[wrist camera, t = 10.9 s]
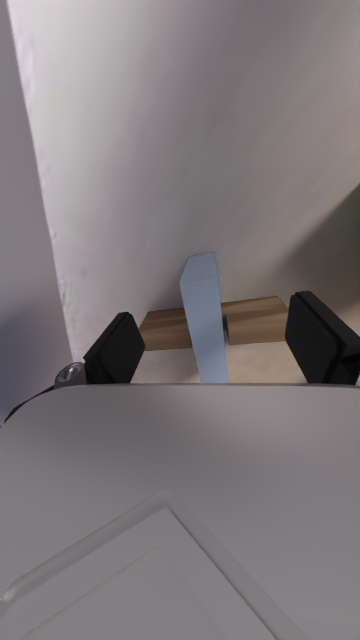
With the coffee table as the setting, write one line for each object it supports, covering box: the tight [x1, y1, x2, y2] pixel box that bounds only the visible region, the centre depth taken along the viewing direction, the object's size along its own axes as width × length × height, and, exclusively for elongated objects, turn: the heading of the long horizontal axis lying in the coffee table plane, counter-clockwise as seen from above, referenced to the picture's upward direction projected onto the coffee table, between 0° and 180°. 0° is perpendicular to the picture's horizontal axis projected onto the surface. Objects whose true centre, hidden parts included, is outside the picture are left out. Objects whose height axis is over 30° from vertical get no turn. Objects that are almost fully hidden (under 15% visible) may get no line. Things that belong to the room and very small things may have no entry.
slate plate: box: [179, 252, 228, 383], centre depth 21 cm, size 16×3×9 cm, turn 12°
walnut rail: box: [139, 296, 289, 351], centre depth 22 cm, size 2×18×6 cm, turn 102°
